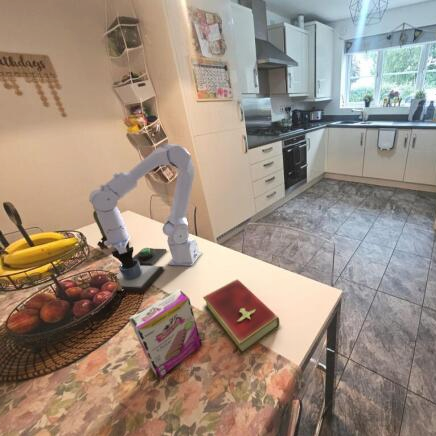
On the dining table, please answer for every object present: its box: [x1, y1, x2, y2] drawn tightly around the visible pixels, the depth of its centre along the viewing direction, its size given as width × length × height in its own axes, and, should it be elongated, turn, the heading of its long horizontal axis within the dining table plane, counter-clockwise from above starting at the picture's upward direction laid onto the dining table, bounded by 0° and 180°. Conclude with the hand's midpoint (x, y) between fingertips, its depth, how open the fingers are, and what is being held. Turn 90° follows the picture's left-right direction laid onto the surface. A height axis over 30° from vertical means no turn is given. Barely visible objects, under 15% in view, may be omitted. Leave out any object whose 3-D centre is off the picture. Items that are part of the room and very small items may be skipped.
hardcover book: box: [202, 278, 280, 355], centre depth 69 cm, size 12×21×4 cm, turn 42°
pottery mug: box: [97, 235, 109, 251], centre depth 106 cm, size 12×9×8 cm
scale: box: [115, 265, 165, 294], centre depth 86 cm, size 14×12×2 cm
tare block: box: [132, 247, 168, 266], centre depth 97 cm, size 10×10×3 cm
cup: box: [118, 260, 142, 280], centre depth 84 cm, size 6×6×4 cm
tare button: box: [140, 247, 150, 255], centre depth 97 cm, size 3×3×2 cm
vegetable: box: [92, 205, 105, 237], centre depth 106 cm, size 4×4×20 cm
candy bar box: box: [128, 288, 202, 380], centre depth 56 cm, size 11×5×16 cm, turn 141°
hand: (128, 261), depth 83 cm, fingers open, 7 cm apart
